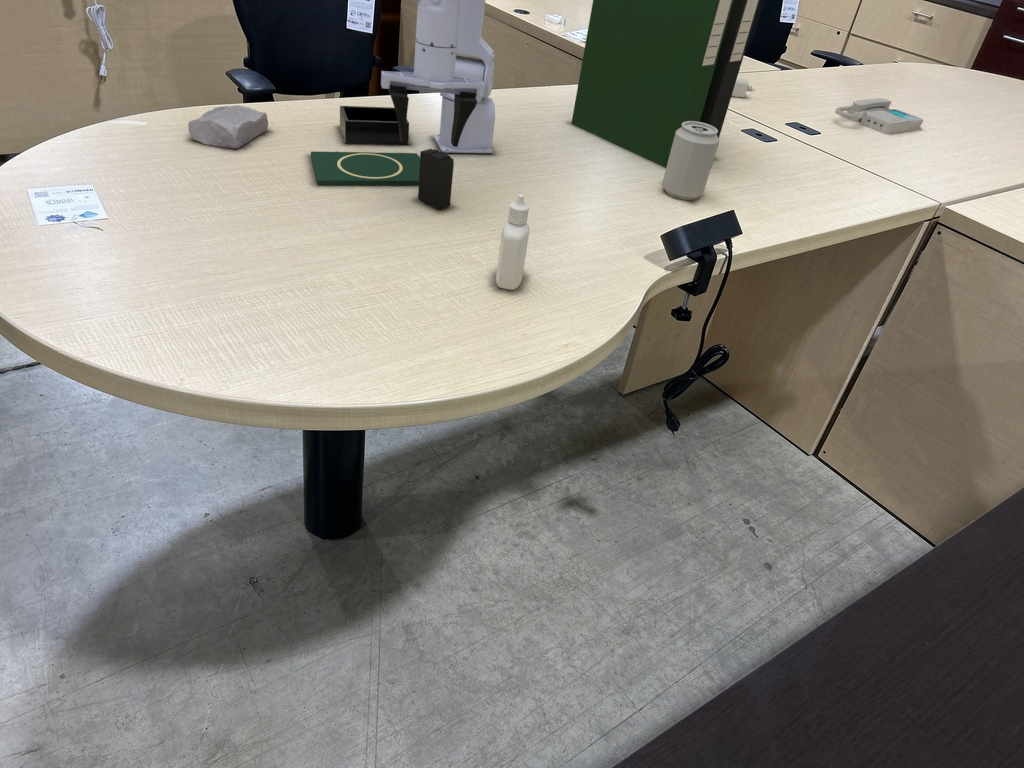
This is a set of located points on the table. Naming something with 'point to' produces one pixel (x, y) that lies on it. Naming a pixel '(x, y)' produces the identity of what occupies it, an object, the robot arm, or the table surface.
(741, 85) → the usb wall charger
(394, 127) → the pen tray
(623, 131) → the binder
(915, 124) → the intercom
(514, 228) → the eye dropper bottle
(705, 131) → the can
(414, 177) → the desk mat
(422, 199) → the ink cartridge
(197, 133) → the stone block
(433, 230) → the table surface
